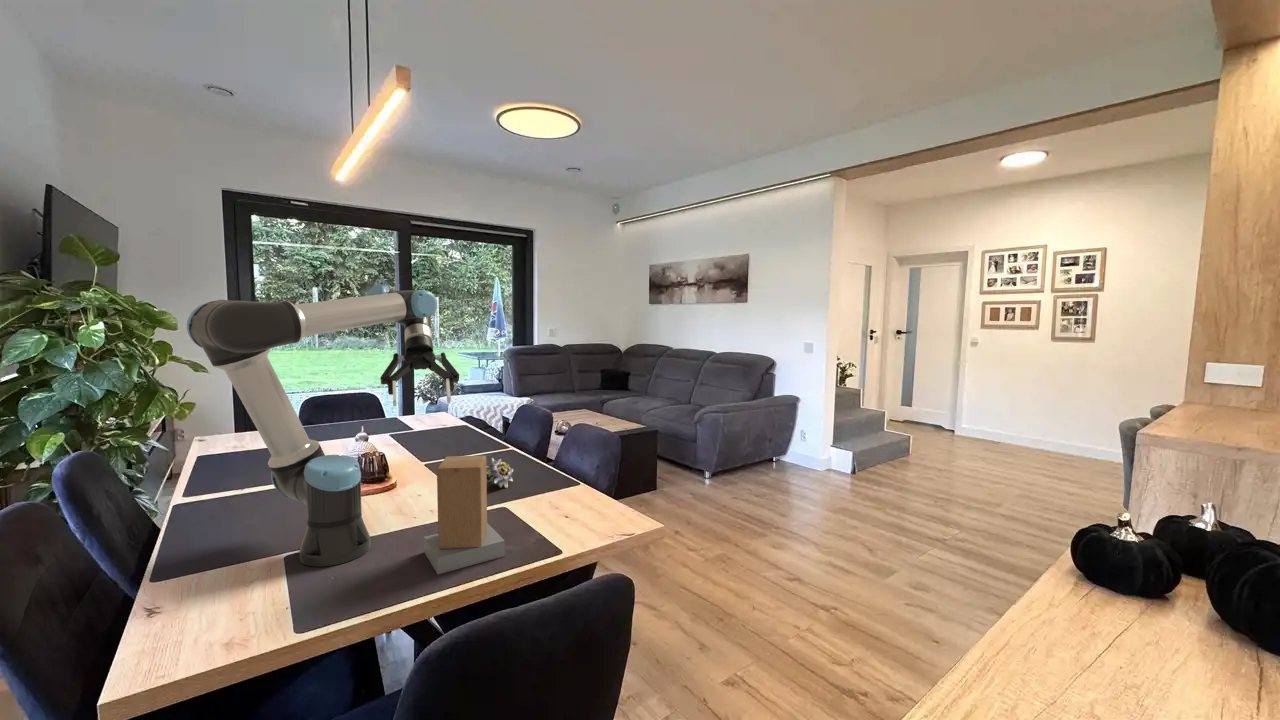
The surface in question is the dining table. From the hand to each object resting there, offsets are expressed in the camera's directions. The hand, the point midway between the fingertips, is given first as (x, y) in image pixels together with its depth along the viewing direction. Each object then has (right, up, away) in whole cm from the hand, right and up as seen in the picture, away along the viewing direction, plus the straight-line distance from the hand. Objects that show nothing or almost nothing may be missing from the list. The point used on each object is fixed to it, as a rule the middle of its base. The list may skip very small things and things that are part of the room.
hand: (422, 401), depth 137 cm
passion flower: (+9, -33, +38) cm, 51 cm away
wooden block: (+15, -33, -12) cm, 39 cm away
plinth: (+15, -37, -11) cm, 42 cm away
